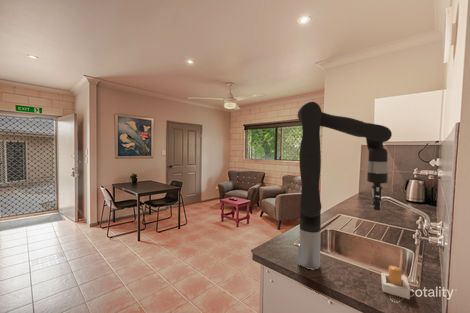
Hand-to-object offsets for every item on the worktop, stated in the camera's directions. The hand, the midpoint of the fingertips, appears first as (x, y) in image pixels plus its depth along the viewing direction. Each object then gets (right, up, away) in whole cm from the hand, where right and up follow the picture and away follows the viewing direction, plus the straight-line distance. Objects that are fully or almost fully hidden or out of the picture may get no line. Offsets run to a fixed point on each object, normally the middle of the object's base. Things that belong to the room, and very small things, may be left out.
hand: (376, 207), depth 94 cm
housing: (-1, -29, -12) cm, 31 cm away
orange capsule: (-1, -29, -12) cm, 31 cm away
